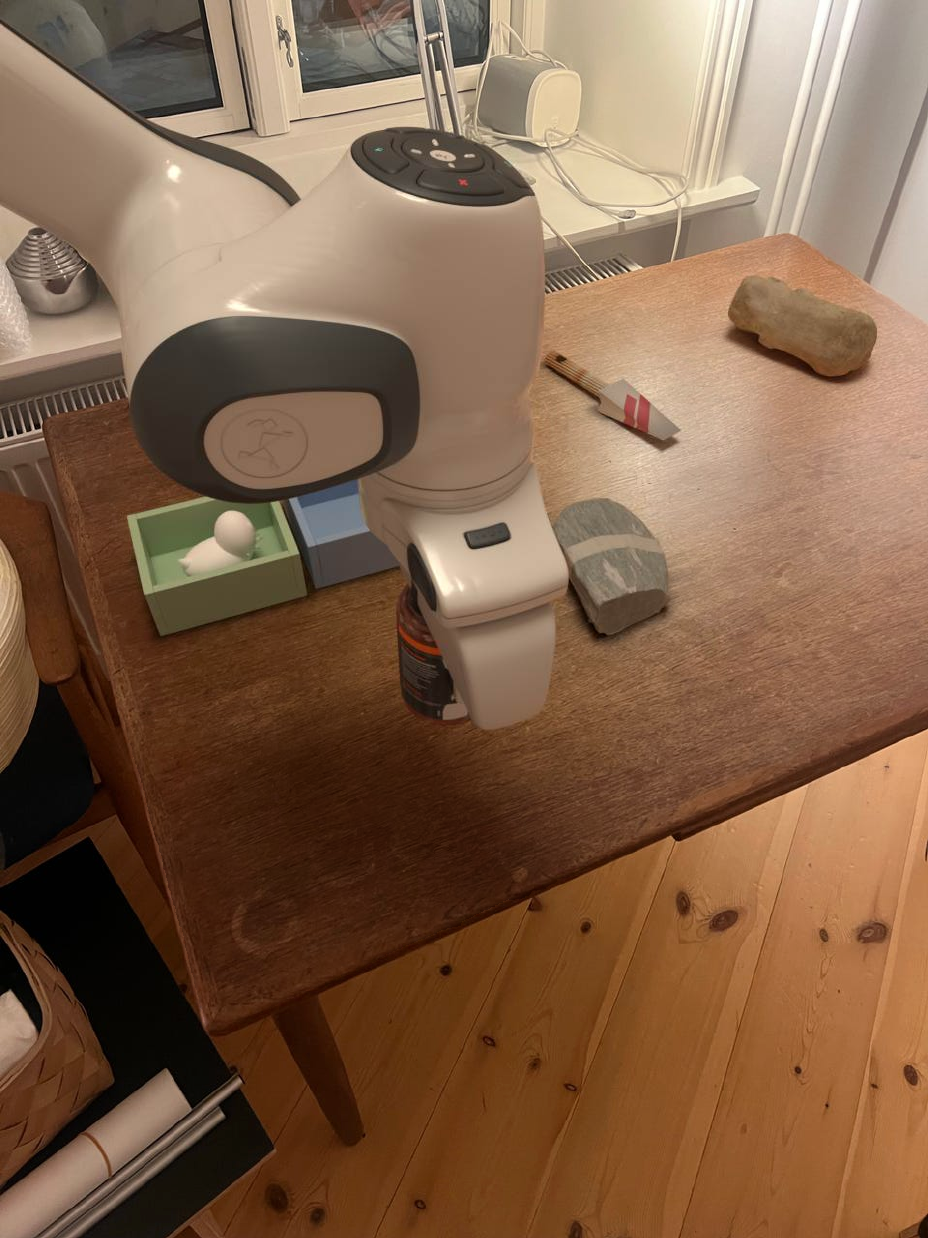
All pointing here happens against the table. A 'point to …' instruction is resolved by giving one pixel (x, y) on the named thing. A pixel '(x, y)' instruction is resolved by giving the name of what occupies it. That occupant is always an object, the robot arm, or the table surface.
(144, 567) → the sage bin
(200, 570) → the toy creature
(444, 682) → the supplement bottle
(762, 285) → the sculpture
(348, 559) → the blue bin
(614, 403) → the trowel
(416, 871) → the table surface
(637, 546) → the decorative stone
